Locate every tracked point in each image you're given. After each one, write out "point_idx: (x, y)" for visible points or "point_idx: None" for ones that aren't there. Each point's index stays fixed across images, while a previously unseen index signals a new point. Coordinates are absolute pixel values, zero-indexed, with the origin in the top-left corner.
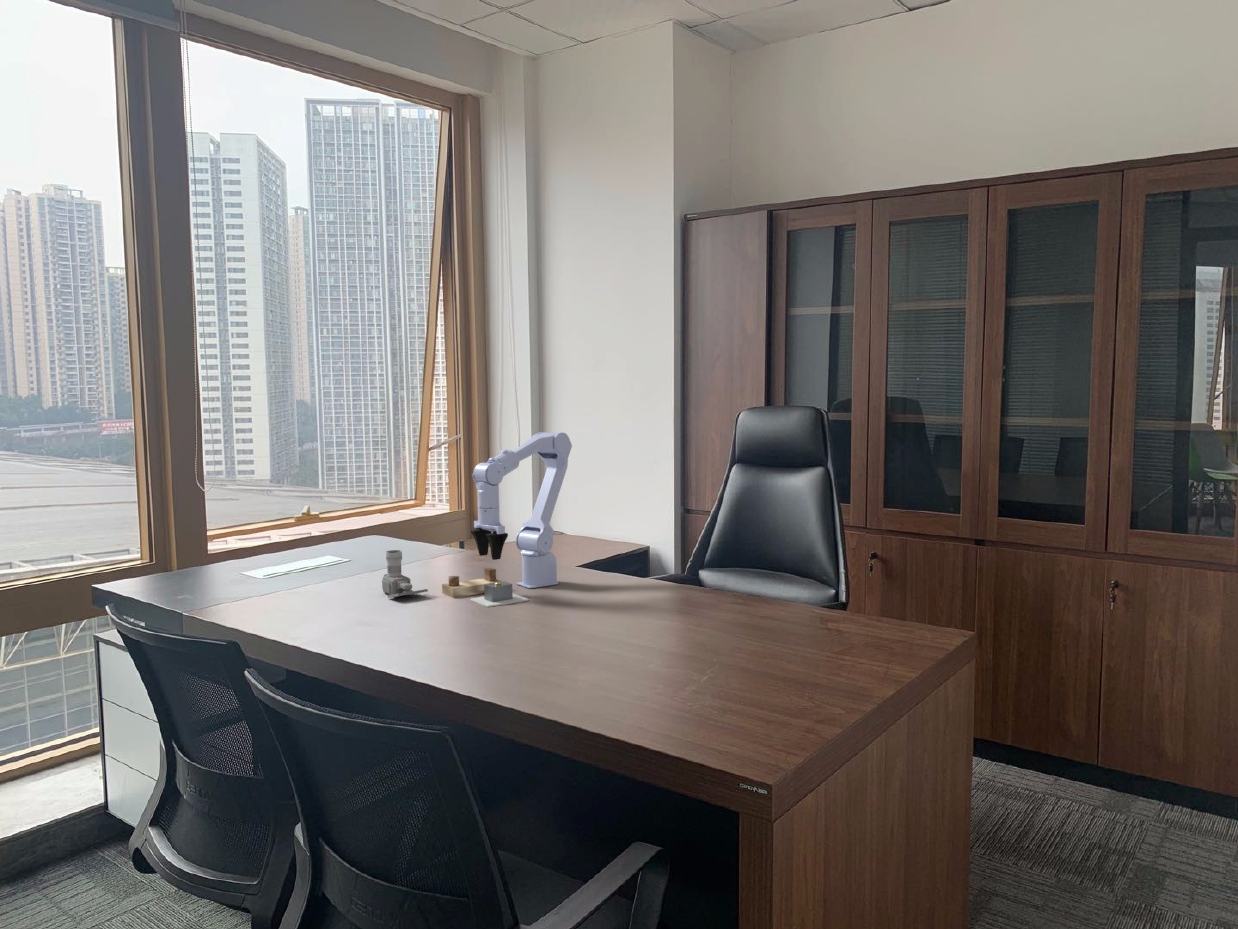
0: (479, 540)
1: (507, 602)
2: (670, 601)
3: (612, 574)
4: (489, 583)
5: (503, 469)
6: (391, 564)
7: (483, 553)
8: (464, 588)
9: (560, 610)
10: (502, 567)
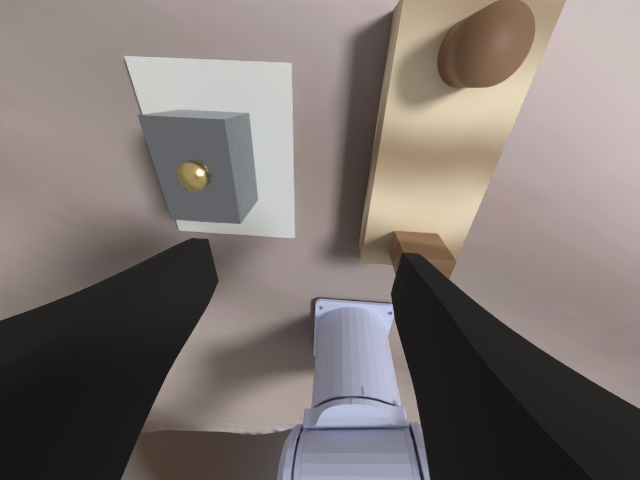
0: (459, 365)
1: None
2: None
3: None
4: (228, 151)
5: None
6: None
7: (399, 280)
8: (387, 85)
9: (34, 229)
10: (597, 371)
